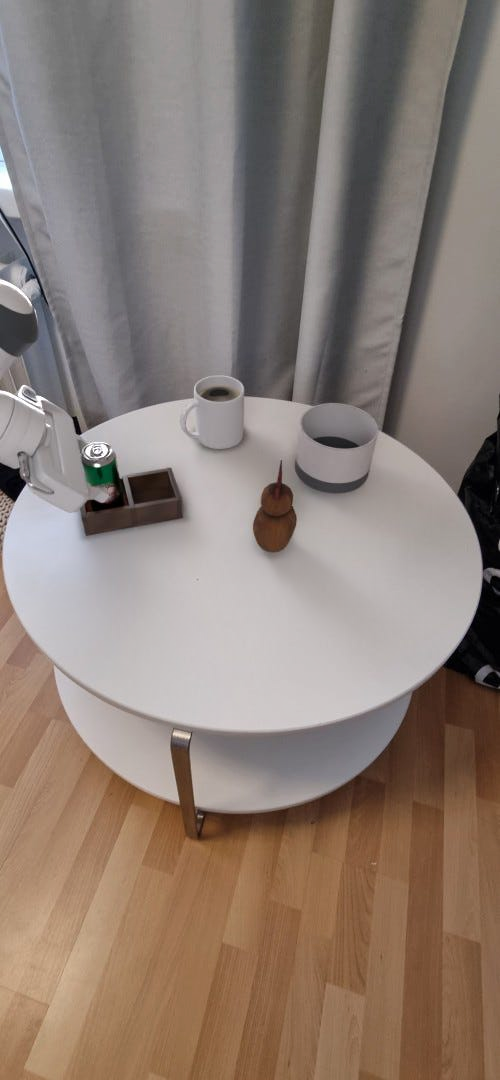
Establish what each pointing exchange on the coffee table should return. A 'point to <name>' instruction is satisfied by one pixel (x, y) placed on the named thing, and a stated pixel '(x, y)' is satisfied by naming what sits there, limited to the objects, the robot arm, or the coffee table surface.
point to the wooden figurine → (275, 516)
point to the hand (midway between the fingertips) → (100, 476)
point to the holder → (138, 503)
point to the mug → (216, 412)
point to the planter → (335, 447)
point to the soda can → (103, 474)
